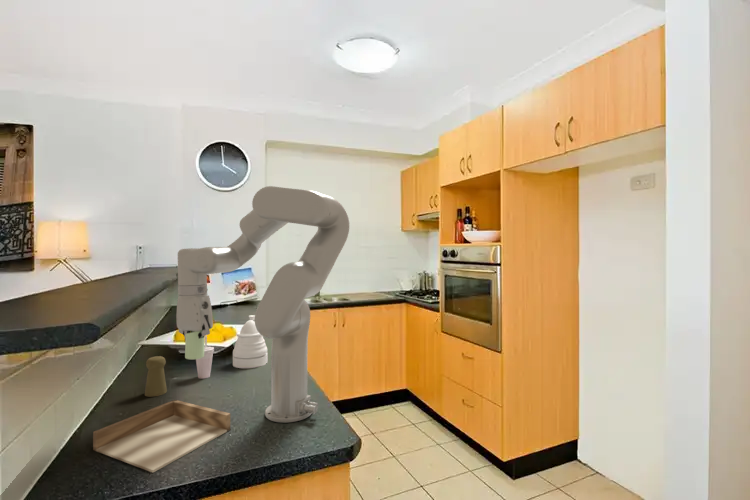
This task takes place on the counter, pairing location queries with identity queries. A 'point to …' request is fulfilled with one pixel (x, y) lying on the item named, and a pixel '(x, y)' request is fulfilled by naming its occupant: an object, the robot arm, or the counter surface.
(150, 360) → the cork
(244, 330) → the honey pot
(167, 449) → the wooden tray
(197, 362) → the smoothie
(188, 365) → the counter surface
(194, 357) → the candle
